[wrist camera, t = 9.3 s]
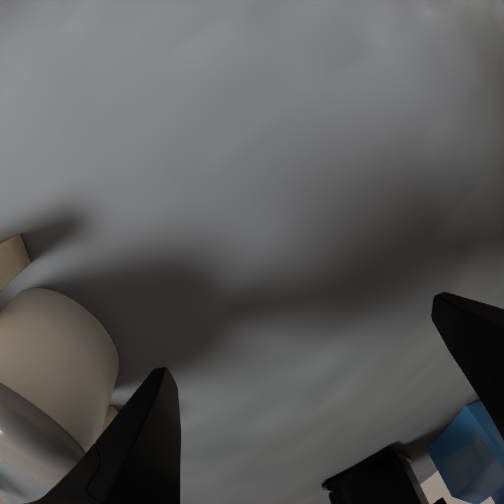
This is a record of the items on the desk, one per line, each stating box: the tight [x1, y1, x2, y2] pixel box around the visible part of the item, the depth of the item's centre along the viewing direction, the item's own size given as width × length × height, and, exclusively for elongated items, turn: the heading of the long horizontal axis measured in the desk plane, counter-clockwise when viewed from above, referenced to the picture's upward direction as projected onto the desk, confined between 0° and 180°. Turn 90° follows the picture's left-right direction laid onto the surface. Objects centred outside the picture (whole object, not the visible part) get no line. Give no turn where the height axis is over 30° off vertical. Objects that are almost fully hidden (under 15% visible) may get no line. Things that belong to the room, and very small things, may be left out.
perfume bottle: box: [427, 401, 504, 504], centre depth 14 cm, size 6×6×12 cm
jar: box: [0, 288, 119, 486], centre depth 8 cm, size 6×6×6 cm
